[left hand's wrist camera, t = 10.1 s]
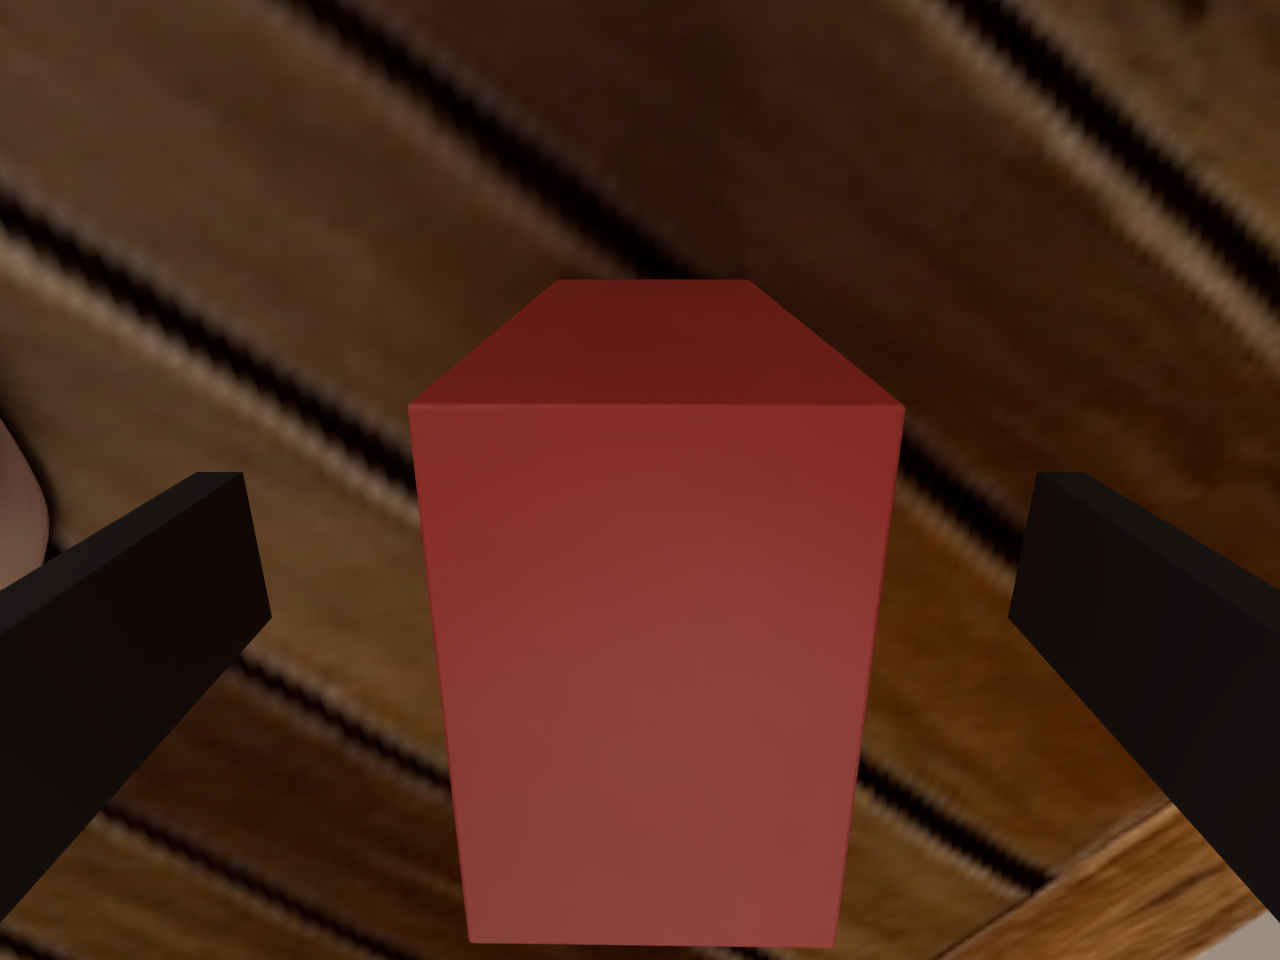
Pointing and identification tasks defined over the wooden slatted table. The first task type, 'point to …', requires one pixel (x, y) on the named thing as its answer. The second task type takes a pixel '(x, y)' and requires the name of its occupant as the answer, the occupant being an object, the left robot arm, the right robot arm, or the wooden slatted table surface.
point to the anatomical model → (19, 514)
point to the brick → (654, 612)
